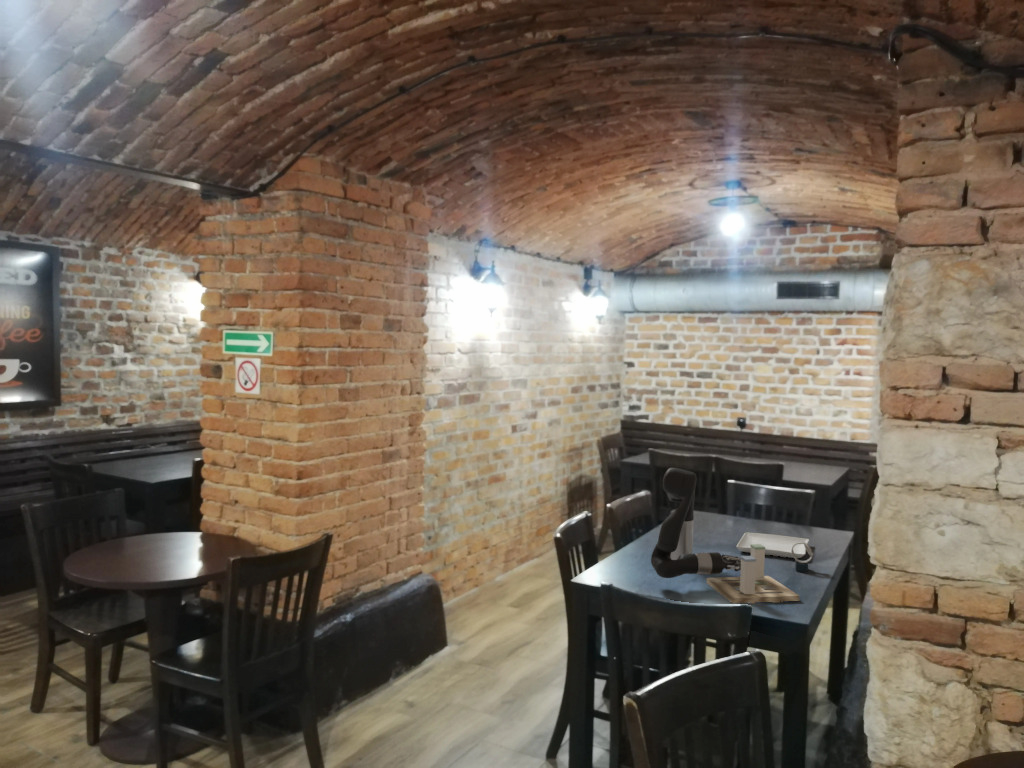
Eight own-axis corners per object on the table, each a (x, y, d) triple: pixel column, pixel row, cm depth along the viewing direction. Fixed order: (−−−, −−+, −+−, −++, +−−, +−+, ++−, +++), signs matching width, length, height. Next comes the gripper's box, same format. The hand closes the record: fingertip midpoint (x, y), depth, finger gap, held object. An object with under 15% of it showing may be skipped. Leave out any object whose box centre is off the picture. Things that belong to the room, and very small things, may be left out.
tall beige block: (754, 580, 274) (755, 547, 273) (749, 576, 278) (750, 544, 278) (764, 580, 274) (765, 547, 274) (758, 576, 279) (760, 544, 278)
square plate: (809, 546, 331) (809, 537, 331) (804, 563, 306) (805, 553, 306) (744, 539, 343) (745, 530, 342) (735, 554, 318) (735, 545, 318)
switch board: (732, 604, 256) (732, 597, 256) (706, 583, 278) (706, 577, 278) (799, 601, 260) (799, 594, 260) (768, 581, 281) (768, 574, 281)
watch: (813, 573, 292) (814, 545, 291) (791, 571, 294) (792, 543, 294) (812, 569, 297) (813, 541, 296) (790, 566, 300) (791, 539, 299)
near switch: (744, 594, 259) (745, 559, 258) (739, 590, 263) (740, 556, 262) (755, 594, 259) (756, 559, 258) (749, 589, 263) (750, 555, 263)
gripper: (714, 558, 267) (761, 557, 269) (700, 548, 280) (745, 547, 282) (714, 579, 267) (760, 578, 269) (699, 568, 280) (744, 567, 282)
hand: (752, 562), depth 276 cm, fingers closed
